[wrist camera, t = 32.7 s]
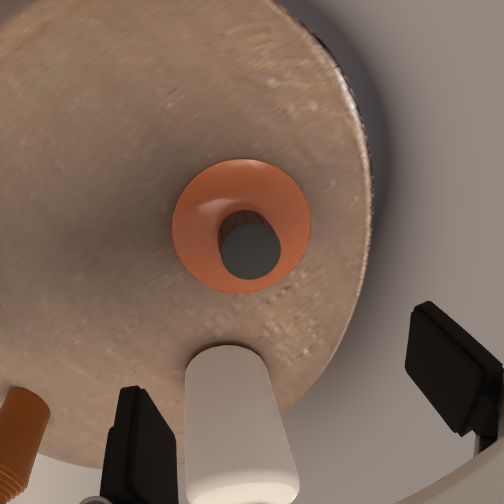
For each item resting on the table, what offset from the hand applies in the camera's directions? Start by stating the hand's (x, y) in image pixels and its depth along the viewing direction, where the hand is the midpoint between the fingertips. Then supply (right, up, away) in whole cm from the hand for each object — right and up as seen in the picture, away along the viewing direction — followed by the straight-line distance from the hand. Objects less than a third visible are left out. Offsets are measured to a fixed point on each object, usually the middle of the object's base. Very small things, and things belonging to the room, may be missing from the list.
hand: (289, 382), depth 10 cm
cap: (-2, +5, +15) cm, 16 cm away
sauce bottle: (-30, -16, +20) cm, 39 cm away
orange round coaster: (-2, +6, +16) cm, 17 cm away
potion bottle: (-4, -8, +21) cm, 23 cm away
